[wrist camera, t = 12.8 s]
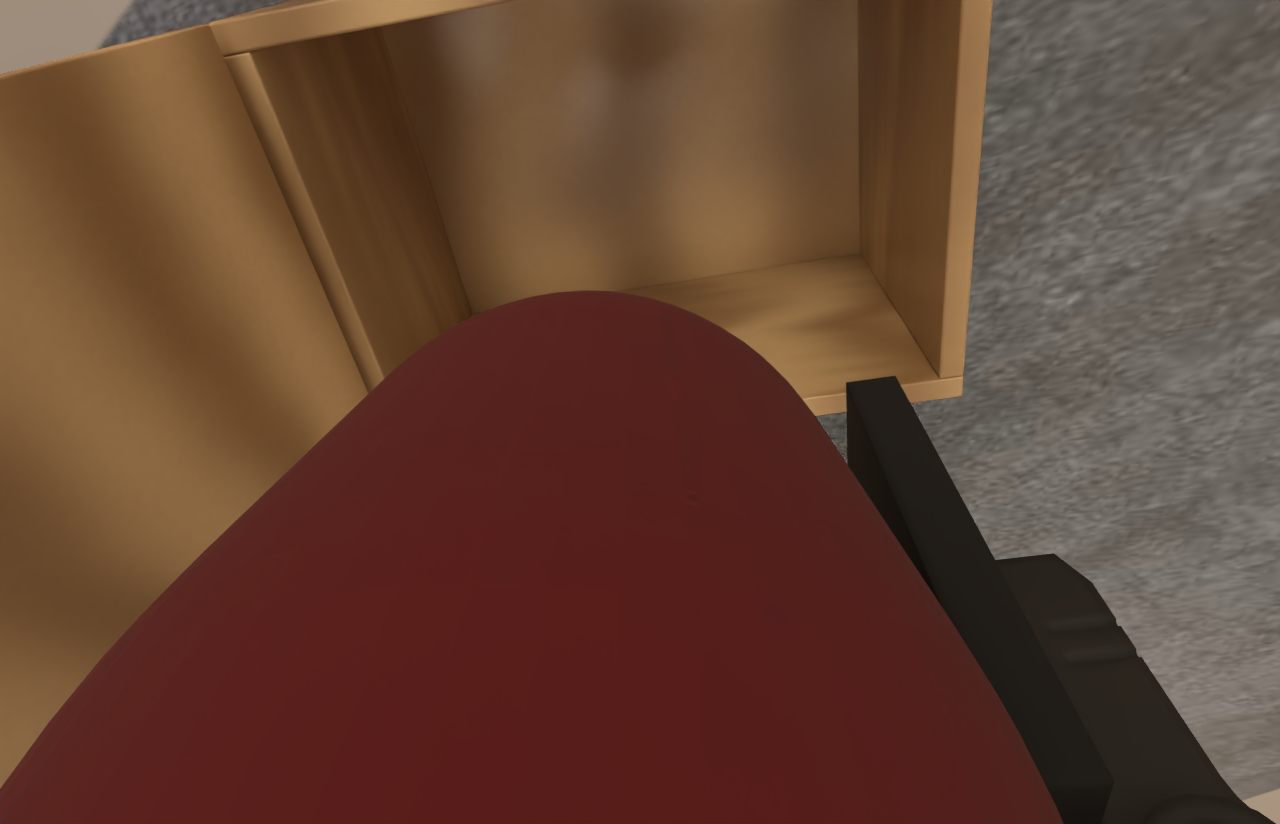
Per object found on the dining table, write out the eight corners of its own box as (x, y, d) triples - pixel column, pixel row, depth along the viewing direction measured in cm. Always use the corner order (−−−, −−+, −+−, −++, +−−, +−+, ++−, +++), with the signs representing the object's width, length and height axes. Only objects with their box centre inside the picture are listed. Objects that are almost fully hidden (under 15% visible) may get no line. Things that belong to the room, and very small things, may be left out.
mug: (789, 661, 16) (923, 1434, 8) (416, 646, 16) (170, 1407, 8) (898, 169, 11) (1772, 1153, 2) (316, 146, 11) (-935, 1055, 2)
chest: (873, -120, 27) (1004, -134, 17) (873, 259, 35) (962, 397, 25) (352, -17, 29) (205, 23, 19) (463, 322, 37) (400, 473, 27)
